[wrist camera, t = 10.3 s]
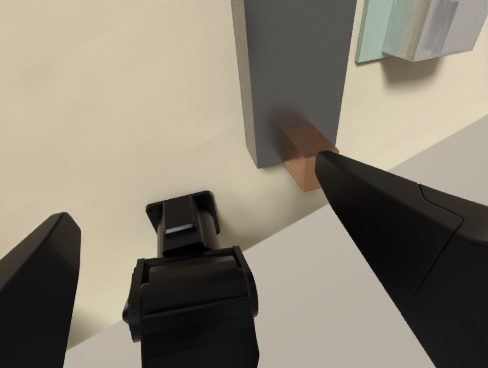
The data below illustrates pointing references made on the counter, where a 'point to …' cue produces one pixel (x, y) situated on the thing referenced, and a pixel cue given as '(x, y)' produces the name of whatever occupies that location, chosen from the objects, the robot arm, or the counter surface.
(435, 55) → the lever cap
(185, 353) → the robot arm
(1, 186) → the counter surface
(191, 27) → the counter surface
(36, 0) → the counter surface
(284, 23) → the hand plane
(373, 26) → the mat
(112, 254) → the counter surface
